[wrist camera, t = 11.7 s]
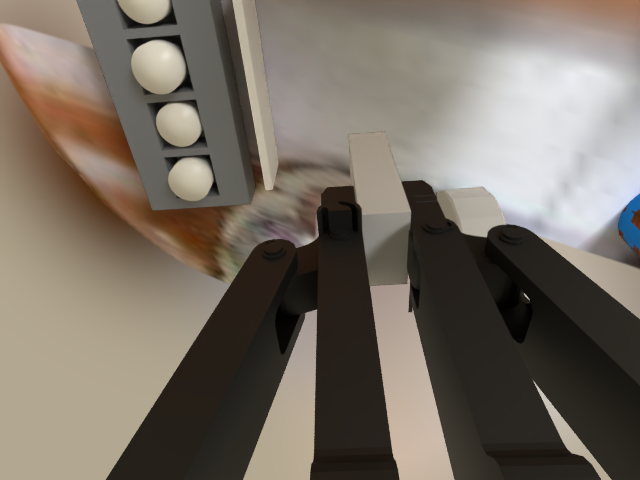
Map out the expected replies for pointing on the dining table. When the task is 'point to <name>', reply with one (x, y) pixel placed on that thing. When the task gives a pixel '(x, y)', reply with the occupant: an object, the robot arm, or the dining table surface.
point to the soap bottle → (471, 209)
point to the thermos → (631, 225)
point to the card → (257, 87)
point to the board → (176, 98)
